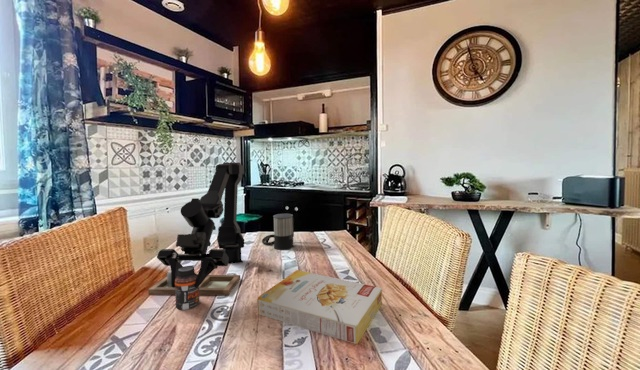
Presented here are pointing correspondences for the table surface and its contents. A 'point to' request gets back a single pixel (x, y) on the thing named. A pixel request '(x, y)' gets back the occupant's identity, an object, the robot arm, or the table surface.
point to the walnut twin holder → (202, 285)
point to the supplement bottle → (186, 289)
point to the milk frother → (282, 232)
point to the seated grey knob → (169, 278)
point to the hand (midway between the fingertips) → (184, 287)
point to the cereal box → (322, 304)
